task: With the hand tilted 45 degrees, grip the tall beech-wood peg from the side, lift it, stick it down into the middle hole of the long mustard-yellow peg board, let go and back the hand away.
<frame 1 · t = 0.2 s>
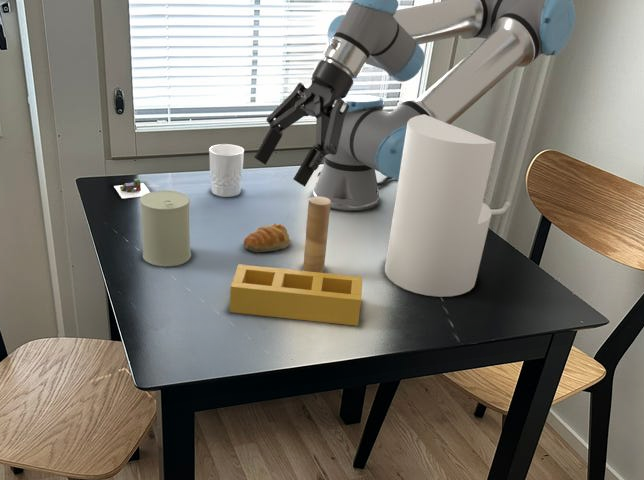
hand: (278, 172, 136), 15 cm above the table, tool tilted 35°, fingers open, 13 cm apart
white cup: (226, 192, 168), on the table
pastry: (267, 246, 145), on the table
board: (295, 306, 125), on the table
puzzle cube: (132, 191, 166), on the table
can: (167, 256, 139), on the table
peg: (313, 270, 137), on the table
cylinder: (429, 275, 138), on the table
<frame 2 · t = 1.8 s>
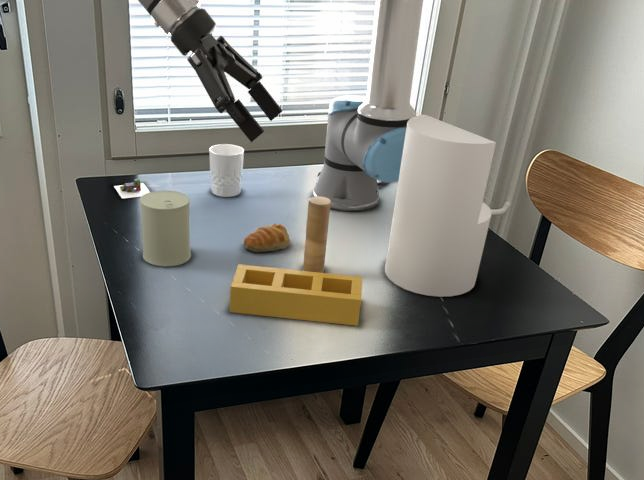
hand: (267, 126, 124), 26 cm above the table, tool tilted 45°, fingers open, 13 cm apart
nothing on the table moved.
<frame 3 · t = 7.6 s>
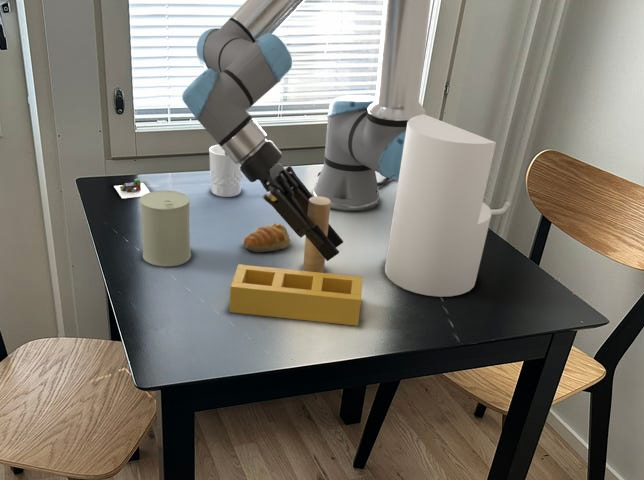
hand: (335, 251, 134), 5 cm above the table, tool tilted 45°, fingers closed on peg, 4 cm apart
peg: (313, 270, 137), on the table, touching gripper
everything else where it was.
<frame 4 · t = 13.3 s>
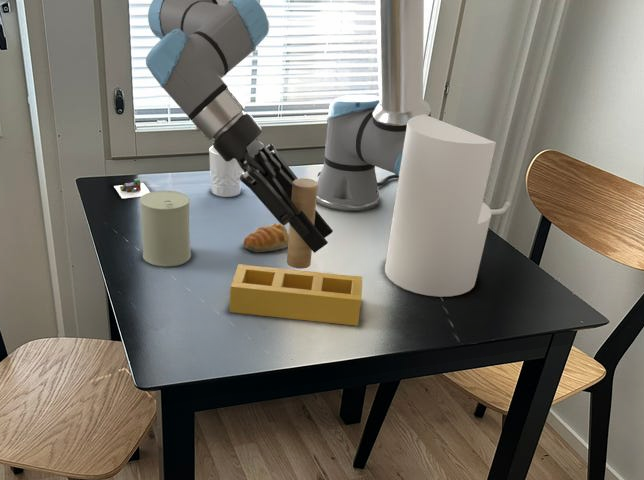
hand: (323, 241, 117), 13 cm above the table, tool tilted 45°, fingers closed on peg, 4 cm apart
peg: (298, 263, 120), point 8 cm above the table, touching gripper
everything else where it was.
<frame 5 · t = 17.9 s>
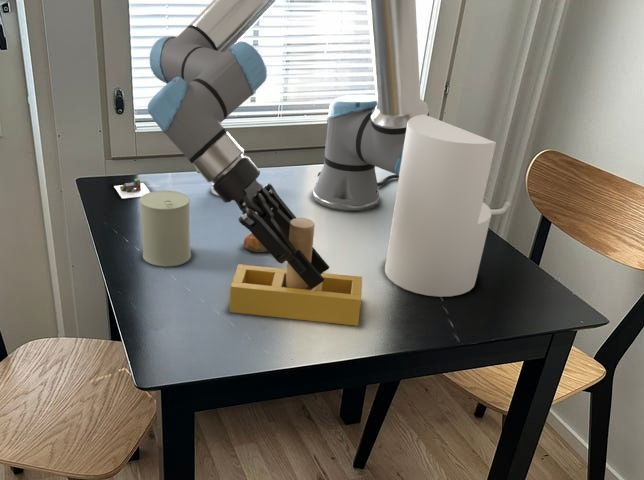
hand: (320, 277, 121), 6 cm above the table, tool tilted 45°, fingers closed on peg, 4 cm apart
peg: (296, 298, 124), point 2 cm above the table, touching gripper
everything else where it was.
when the fingers open (7 cm above the table, at t = 19.4 s): peg drops 3 cm, resting in board.
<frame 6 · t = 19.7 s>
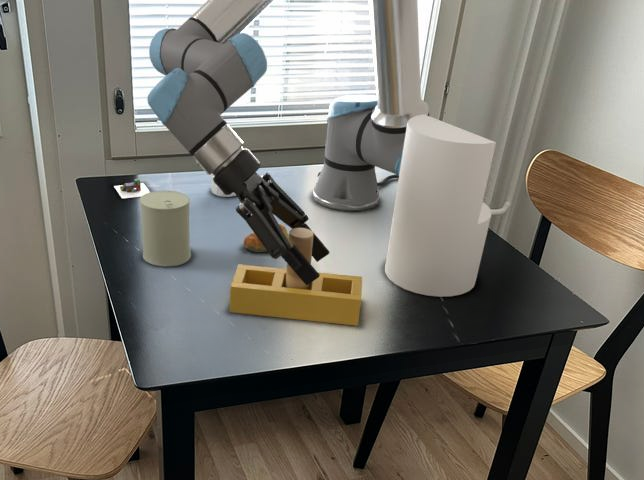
hand: (318, 268, 120), 8 cm above the table, tool tilted 45°, fingers open, 8 cm apart
peg: (295, 306, 125), resting in board
everything else where it was.
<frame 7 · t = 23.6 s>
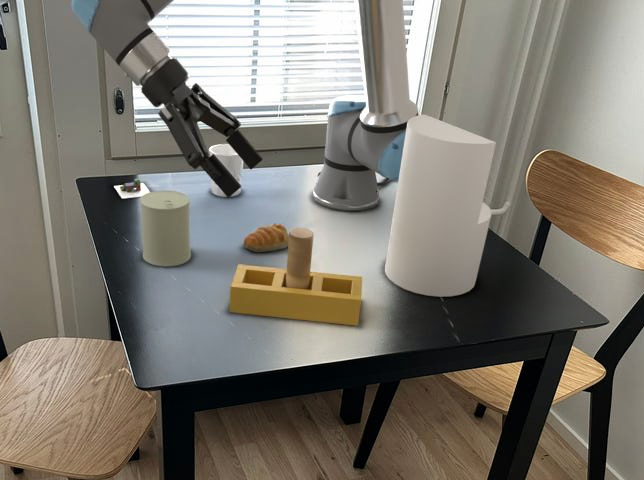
hand: (246, 177, 118), 21 cm above the table, tool tilted 45°, fingers open, 13 cm apart
nothing on the table moved.
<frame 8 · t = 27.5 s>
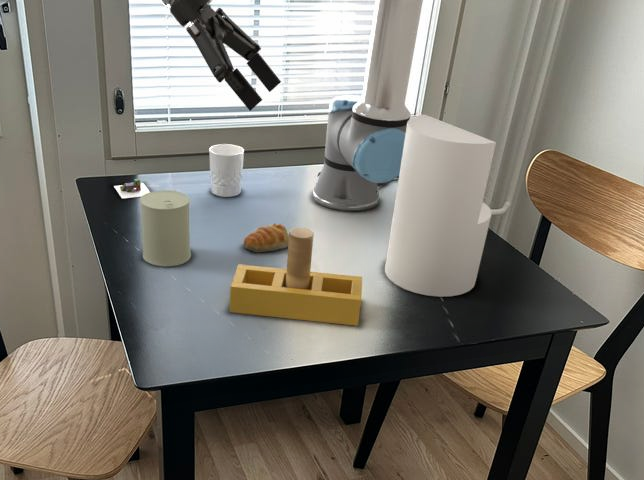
hand: (266, 96, 126), 30 cm above the table, tool tilted 45°, fingers open, 13 cm apart
nothing on the table moved.
at the end: peg 0.0 cm off-centre in the board, point 0.0 cm above the board's base; peg tilted 0°; the gripper is holding nothing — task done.
